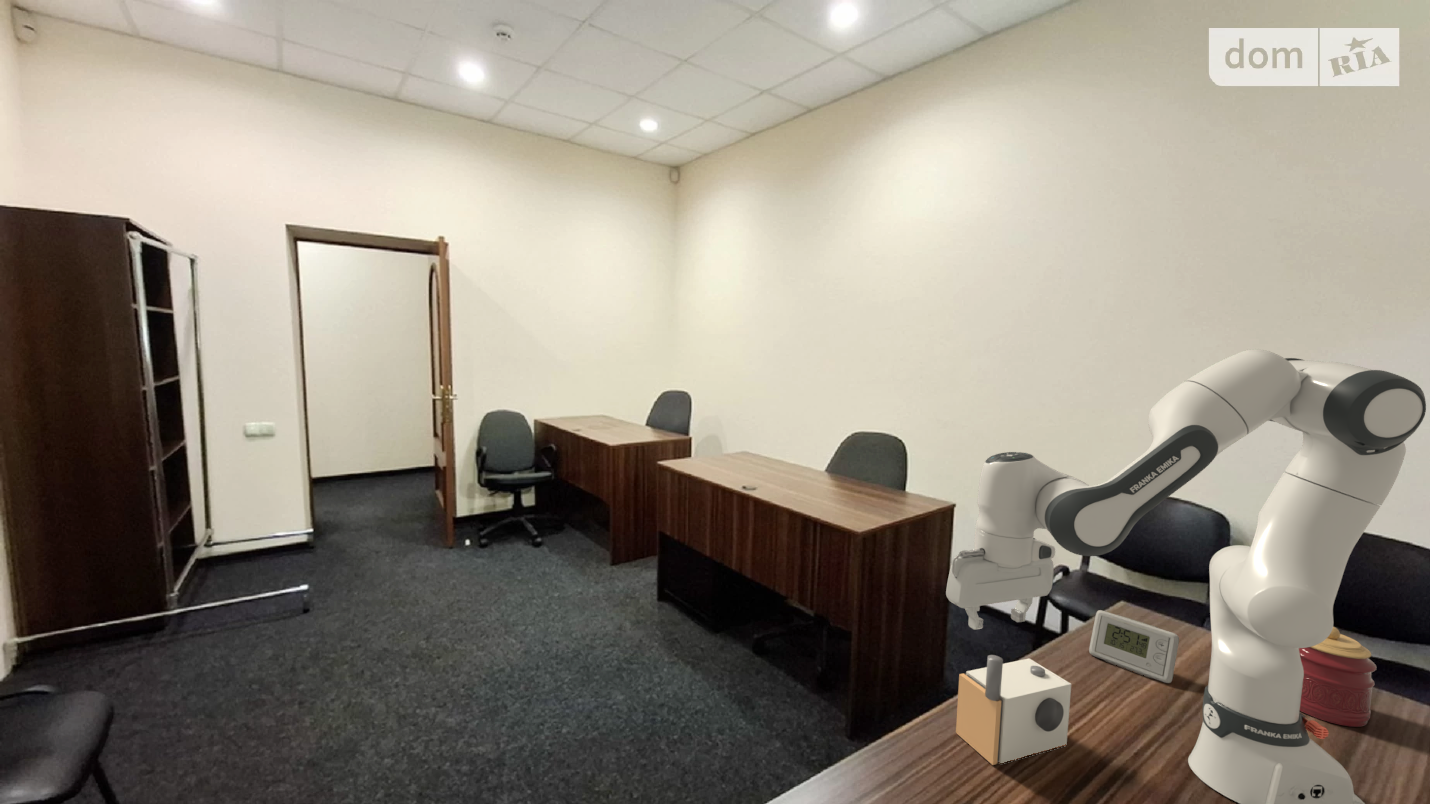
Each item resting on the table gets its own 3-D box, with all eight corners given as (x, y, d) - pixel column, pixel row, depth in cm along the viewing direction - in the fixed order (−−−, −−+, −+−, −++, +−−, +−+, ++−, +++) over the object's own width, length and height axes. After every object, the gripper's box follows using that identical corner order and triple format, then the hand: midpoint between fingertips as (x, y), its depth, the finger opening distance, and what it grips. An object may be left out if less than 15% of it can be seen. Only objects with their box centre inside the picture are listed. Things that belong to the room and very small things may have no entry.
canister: (1354, 703, 118) (1364, 622, 117) (1381, 737, 107) (1393, 649, 106) (1269, 682, 125) (1278, 606, 124) (1287, 712, 114) (1296, 629, 113)
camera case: (1025, 715, 112) (1029, 654, 111) (1071, 749, 102) (1076, 682, 101) (960, 731, 107) (964, 667, 105) (1003, 769, 97) (1008, 698, 96)
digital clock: (1084, 654, 136) (1087, 611, 135) (1105, 645, 140) (1108, 604, 139) (1162, 690, 122) (1166, 643, 121) (1182, 679, 126) (1187, 634, 125)
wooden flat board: (963, 730, 107) (968, 637, 105) (1000, 763, 98) (1007, 661, 97) (952, 733, 106) (958, 639, 104) (989, 766, 97) (996, 663, 96)
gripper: (968, 558, 89) (962, 641, 91) (1063, 547, 96) (1056, 624, 97) (940, 545, 95) (935, 623, 97) (1031, 535, 102) (1025, 608, 103)
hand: (996, 624), depth 97 cm, fingers open, 8 cm apart
